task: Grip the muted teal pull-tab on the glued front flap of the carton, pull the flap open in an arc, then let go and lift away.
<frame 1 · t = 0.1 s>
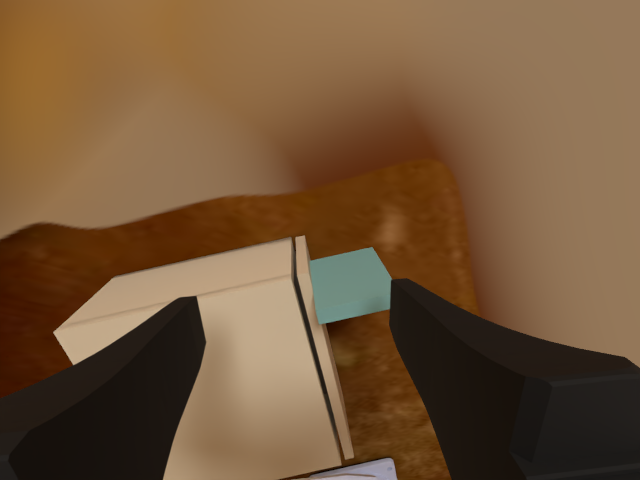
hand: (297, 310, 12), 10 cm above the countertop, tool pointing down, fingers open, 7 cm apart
carton: (234, 340, 24), on the countertop
flap: (357, 350, 21), point 4 cm above the countertop, hinge at 0.0°
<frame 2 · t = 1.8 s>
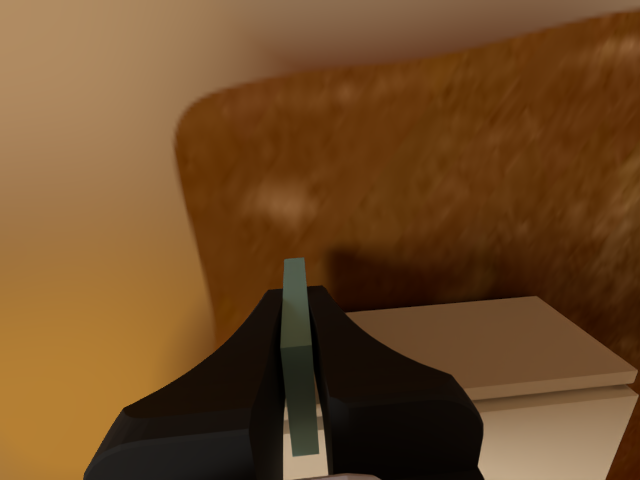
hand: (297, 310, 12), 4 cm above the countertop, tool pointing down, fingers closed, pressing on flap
carton: (399, 403, 19), on the countertop
flap: (439, 320, 13), point 4 cm above the countertop, hinge at 0.0°, touching gripper
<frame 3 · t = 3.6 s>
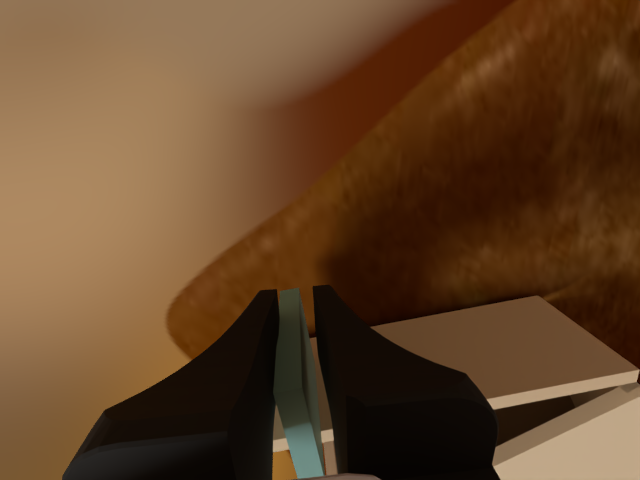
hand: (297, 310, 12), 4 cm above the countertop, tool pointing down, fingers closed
carton: (464, 426, 21), on the countertop
flap: (434, 337, 13), point 4 cm above the countertop, hinge at 23.2°, touching gripper
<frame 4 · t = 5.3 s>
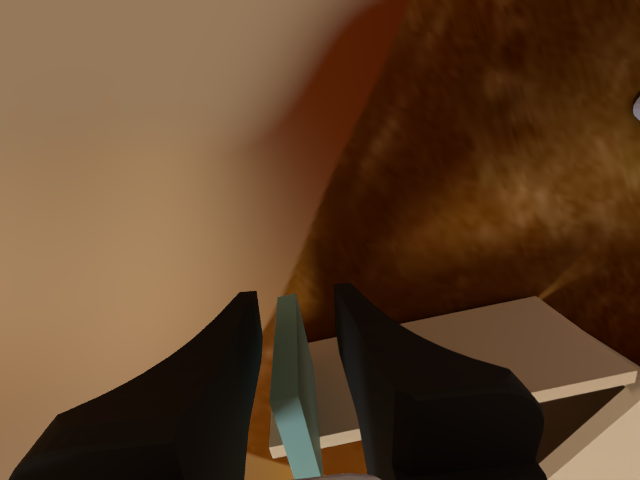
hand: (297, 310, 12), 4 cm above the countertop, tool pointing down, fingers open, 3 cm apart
carton: (524, 423, 21), on the countertop
flap: (432, 340, 13), point 4 cm above the countertop, hinge at 47.2°
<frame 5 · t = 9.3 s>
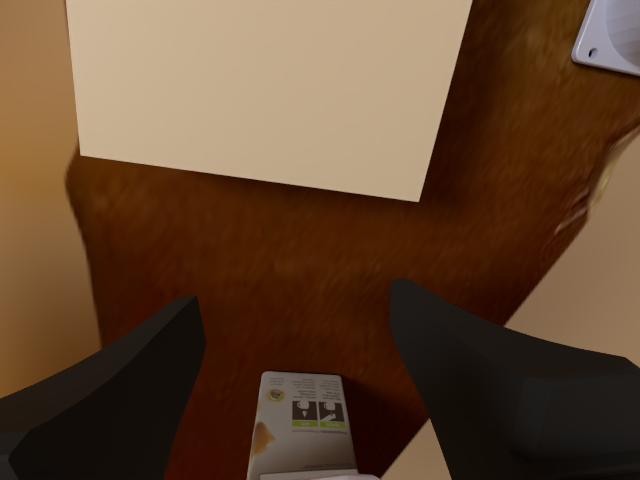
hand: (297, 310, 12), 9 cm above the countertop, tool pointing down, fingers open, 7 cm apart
coffee box: (294, 413, 27), on the countertop
carton: (281, 47, 17), on the countertop
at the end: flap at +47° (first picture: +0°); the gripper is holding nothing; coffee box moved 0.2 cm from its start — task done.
